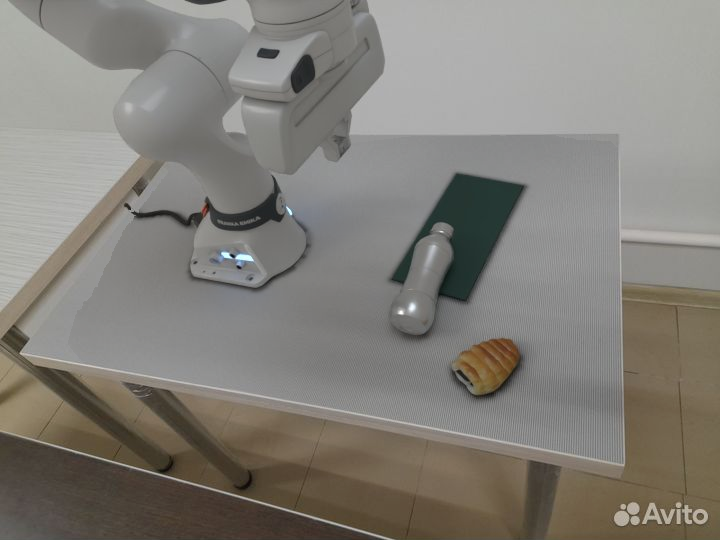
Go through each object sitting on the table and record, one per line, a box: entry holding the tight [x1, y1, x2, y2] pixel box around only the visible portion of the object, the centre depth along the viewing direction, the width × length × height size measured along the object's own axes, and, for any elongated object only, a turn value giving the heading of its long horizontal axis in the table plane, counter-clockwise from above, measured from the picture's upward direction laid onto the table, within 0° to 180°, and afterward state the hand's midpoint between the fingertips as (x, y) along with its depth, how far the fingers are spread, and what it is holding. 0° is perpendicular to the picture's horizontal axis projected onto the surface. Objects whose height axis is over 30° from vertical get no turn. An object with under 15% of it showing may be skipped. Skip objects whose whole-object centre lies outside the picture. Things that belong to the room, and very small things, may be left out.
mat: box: [391, 173, 524, 302], centre depth 91 cm, size 28×13×1 cm, turn 151°
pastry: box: [451, 337, 520, 396], centre depth 72 cm, size 9×7×4 cm
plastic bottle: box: [388, 222, 454, 336], centre depth 82 cm, size 6×7×20 cm
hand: (338, 153), depth 59 cm, fingers closed
